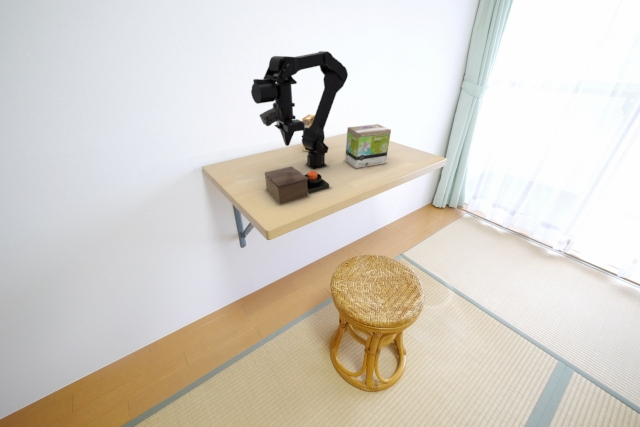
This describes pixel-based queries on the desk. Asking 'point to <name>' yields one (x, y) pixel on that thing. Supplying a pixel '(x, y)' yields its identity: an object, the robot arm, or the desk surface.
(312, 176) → the button
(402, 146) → the desk surface
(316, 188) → the control block
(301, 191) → the open wooden box
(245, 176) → the desk surface
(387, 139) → the tea box
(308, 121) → the candy box
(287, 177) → the wooden box lid
